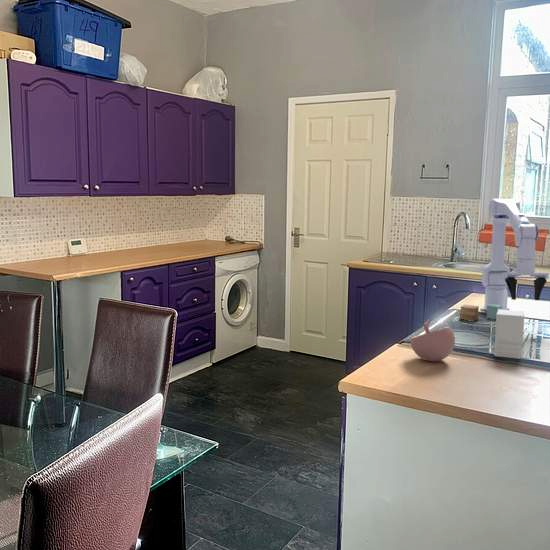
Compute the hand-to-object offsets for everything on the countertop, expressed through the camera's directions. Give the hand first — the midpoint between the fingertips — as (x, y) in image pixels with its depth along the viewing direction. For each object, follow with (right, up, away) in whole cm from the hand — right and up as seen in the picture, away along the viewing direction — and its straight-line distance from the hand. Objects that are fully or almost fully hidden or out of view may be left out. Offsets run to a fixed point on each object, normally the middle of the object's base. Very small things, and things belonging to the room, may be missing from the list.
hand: (525, 299), depth 190 cm
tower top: (-13, -6, +17) cm, 22 cm away
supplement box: (-17, -15, -26) cm, 34 cm away
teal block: (-3, -8, +19) cm, 21 cm away
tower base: (-13, -8, +17) cm, 23 cm away
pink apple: (-41, -16, -32) cm, 54 cm away
